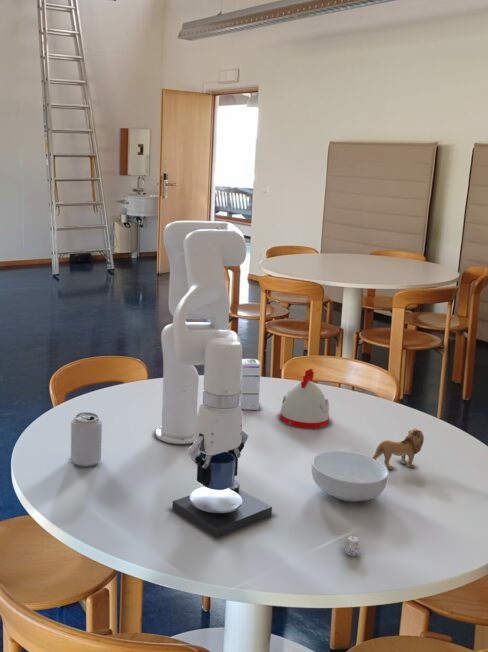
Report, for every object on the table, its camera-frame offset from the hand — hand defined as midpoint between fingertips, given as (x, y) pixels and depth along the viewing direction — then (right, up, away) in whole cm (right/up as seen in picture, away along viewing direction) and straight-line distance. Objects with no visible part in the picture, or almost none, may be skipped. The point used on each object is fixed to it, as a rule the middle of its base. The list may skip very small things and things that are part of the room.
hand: (217, 478), depth 150 cm
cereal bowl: (+31, -7, +13) cm, 35 cm away
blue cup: (0, -1, 0) cm, 1 cm away
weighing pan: (0, -5, +1) cm, 5 cm away
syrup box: (+17, +5, +69) cm, 71 cm away
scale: (+1, -8, +3) cm, 9 cm away
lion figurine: (+48, -4, +30) cm, 57 cm away
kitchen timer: (+32, +3, +59) cm, 67 cm away
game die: (+25, -12, -11) cm, 30 cm away
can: (-30, -3, +26) cm, 40 cm away
